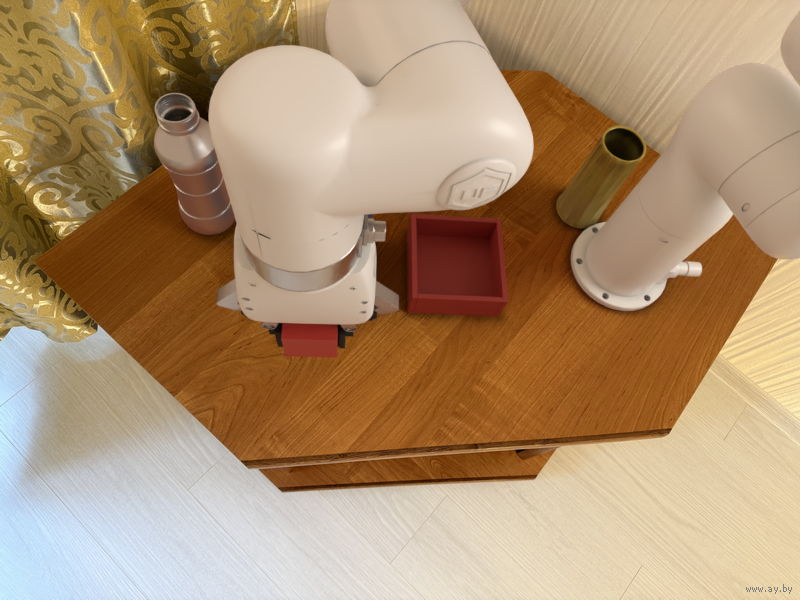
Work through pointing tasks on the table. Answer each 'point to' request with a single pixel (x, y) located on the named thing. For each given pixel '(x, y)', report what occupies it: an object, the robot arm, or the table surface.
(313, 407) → the table surface
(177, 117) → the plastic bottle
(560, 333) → the table surface
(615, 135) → the vase
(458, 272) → the red bin
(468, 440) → the table surface
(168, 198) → the table surface
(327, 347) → the red block
